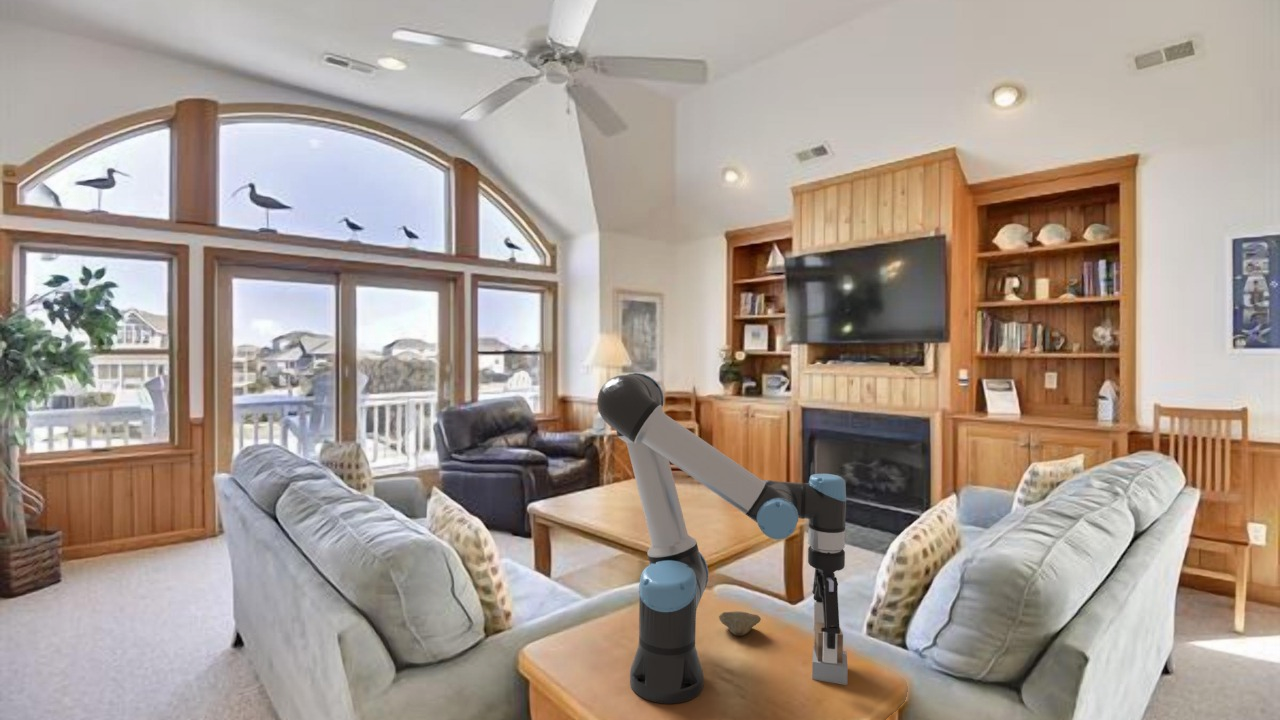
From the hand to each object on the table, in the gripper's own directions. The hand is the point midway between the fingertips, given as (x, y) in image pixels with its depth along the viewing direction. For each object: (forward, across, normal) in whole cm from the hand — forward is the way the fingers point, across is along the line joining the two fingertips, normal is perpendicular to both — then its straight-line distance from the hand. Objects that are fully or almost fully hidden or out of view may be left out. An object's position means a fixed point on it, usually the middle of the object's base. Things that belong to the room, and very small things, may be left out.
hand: (824, 646), depth 128 cm
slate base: (+6, 0, -1) cm, 6 cm away
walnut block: (+2, 0, -1) cm, 2 cm away
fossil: (+6, +15, +18) cm, 24 cm away
